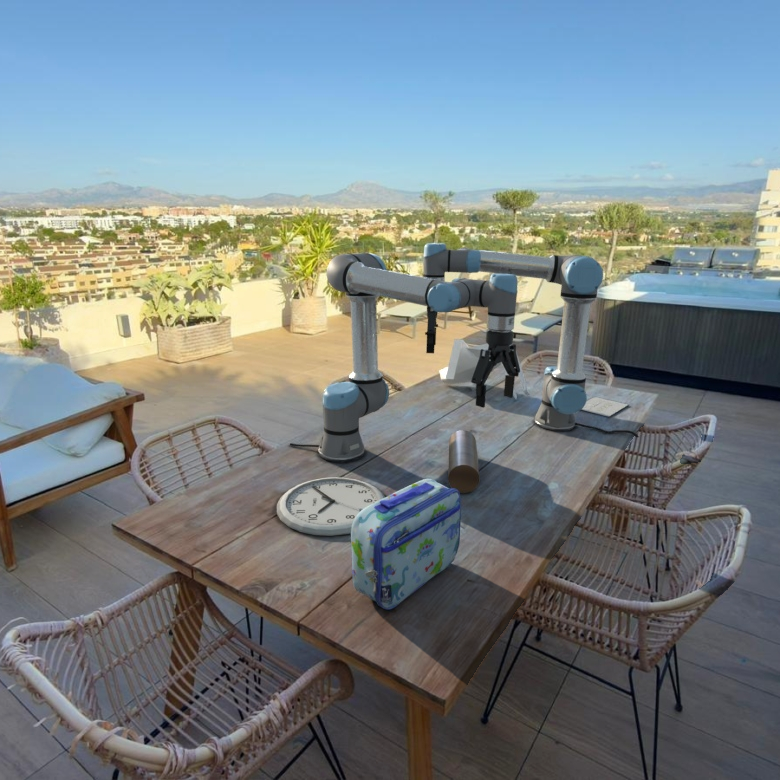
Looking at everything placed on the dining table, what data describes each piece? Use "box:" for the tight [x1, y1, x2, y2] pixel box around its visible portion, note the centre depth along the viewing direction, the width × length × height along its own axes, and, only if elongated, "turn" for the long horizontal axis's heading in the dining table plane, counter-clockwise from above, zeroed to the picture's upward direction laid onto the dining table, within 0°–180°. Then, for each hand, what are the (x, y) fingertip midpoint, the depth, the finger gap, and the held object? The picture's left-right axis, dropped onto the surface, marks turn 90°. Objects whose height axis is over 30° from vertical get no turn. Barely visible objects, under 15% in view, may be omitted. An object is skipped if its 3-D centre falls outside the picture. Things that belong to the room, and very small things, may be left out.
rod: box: [447, 429, 481, 494], centre depth 162 cm, size 27×9×9 cm, turn 173°
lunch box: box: [350, 478, 462, 611], centre depth 110 cm, size 26×11×21 cm, turn 135°
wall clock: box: [276, 476, 386, 537], centre depth 142 cm, size 30×2×30 cm
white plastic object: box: [438, 338, 531, 400], centre depth 245 cm, size 37×45×31 cm
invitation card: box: [580, 396, 629, 418], centre depth 226 cm, size 21×1×15 cm
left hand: (494, 401), depth 154 cm, fingers open, 13 cm apart
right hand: (431, 348), depth 189 cm, fingers open, 13 cm apart
